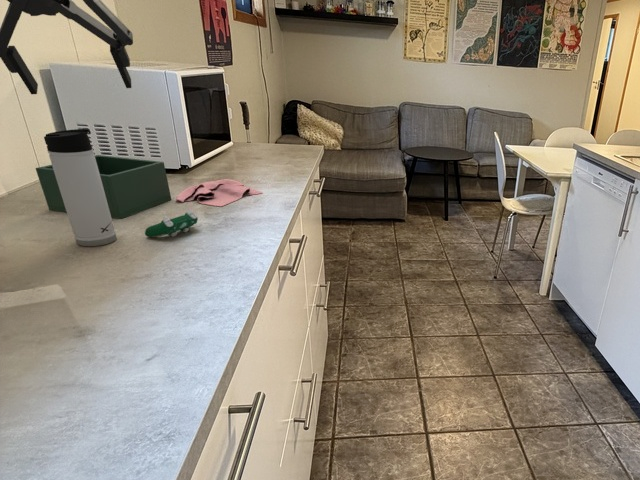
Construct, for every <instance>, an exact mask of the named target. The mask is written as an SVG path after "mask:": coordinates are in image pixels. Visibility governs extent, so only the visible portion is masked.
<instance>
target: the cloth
mask: <svg viewBox="0 0 640 480" xmlns="http://www.w3.org/2000/svg"><path fill="white" fill-rule="evenodd" d="M261 194H264V192H262V191H260V190H257V189H255V188H251V187H248V186H245V185H244V183H242V182H240V181H237V180H234V179H230V178H225V179H217V180H211V181H210V180H209V181H206V182H201V183H198V184H195V185H191V186H187V187H186V188H184V190H182V191H181V192H180V193H179V194H178V195H177V197H176V198H175V202H176V203H177V202H178V203H185V202H191V201H194V200H195V198H196V201H197V202H198V203H199V204H201V205H207V206H214V207H219V208H222V207H226V206H227V205H229V204H232V203H234V202H236V201H238V200H240V199H242V198H243V197H247V196H255V195H261Z"/></svg>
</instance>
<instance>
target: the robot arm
mask: <svg viewBox="0 0 640 480" xmlns="http://www.w3.org/2000/svg"><path fill="white" fill-rule="evenodd" d="M6 1H7V2H8V3H9V4H8V7H7V10H6V13H5V15H4V17H3V20H2V23H1V25H0V60H1V61H2V62H3V64H4V65H5V67H6V69H7V70H8V71H9V72H10V73H11V74H17V75H18V76H19V77H20V79H21V81H22V82H23V83H24V85H25V88H26V89H27V90H28V92H29V93H30V94H31V95H38V87H39V84H38V82H37V80H36V79H35V77H34V76H33V74H32V72H31V71H30V69H29V67H28V65H27V64H26V62H25V60H24V59H23V57H22V56H21V54H20V53H19V50H17V47H16V45H9V44H10V42H11V39H12V37H13V34H14V33H15V32H14V31H15V29H16V27H17V24H18V22H19V21H20V18H21V16H22V13H25V14H27V15H30V17H38V16H43V15H45V16H50V17H51V16H52V17H53V16H54V17H56V16H57V14H60V15H62V16H63V17H65V18H66V19H68V20H71V21H74V22H75V23H76V24H78V25H79V26H81V28H83V29H85V30H86V31H88V32H90V33H91V34H93V35H94V36H96V37H97V38H99V39H100V40H101V41H103V42H104V43H106V44H107V45H109V53H110V54H111V57H112V59H113V62H114V63H115V66H116V68H117V70H118V73H119V74H120V77H121V79H122V82H123V84H124V86H125V88H126V89H132V78H131V75H130V74H129V72H128V68H130V67H131V59H130V56H129V54H128V52H127V49H126V46H133V44H134V36H133V35H134V34H133V32H132V31H131V30H130V29H129V27H127V26H126V25H125V24H124V23H123V22H122V21H121V19H119V18H118V16H116V15H115V13H114V12H113V11H112V10H111V9H110V8H109V7H107V5H106V4H105V3H104V2H103V0H82V2H83V3H84V4H85V5H86V6H87V7H88V8H89V9H90V10H91V11H92V12H93V13H94V14H95V16H97V18H99V19H100V20H101V21H102V22H101V21H100V20H98V19H97V18H95V17H94V16H92V15H91V14H90V13H88V12H87V11H85V10H84V9H82V8H81V7H79V5H77V4H76V3H75V1H73V0H6Z"/></svg>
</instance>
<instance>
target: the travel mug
mask: <svg viewBox="0 0 640 480" xmlns="http://www.w3.org/2000/svg"><path fill="white" fill-rule="evenodd" d="M91 134H92V132H91V130H90V128H89V127H84V128H79V129H78V128H77V129H65V130H58V131H53V132H49V133H46V134H45V135H44V136H43V139H44V143H45V145H46V149H47V150H46V151H47V153H48V156H49V157H48V158H49V160H50V163H51V165H52V167H53V170H54V173H55V176H56V179H57V183H58V186H59V189H60V192H61V195H62V199H63V202H64V205H65V208H66V211H67V212H66V215H67V218H68V220H69V224H70V227H71V230H72V233H73V234H72V235H74V240H75V243H76V244H77V245H79V246H82V247H100V246H104V245H108V244H112V243H113V242H115V241H116V240H117V238H118V237H117V234H116V230H115V226H114V222H113V218H111V214H110V211H109V207H108V203H107V200H106V196H105V192H104V189H103V185H102V181H101V177H100V174H99V170H98V166H97V163H96V159H95V153H94V148H93V146H92V144H91V139H90V137H89V135H91Z"/></svg>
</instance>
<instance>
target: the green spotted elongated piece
mask: <svg viewBox="0 0 640 480" xmlns="http://www.w3.org/2000/svg"><path fill="white" fill-rule="evenodd" d="M197 223H198V216H197V215H196V213H194V212H193V211H192V210H190V209H187V210H186V212H185V213H184V214H183V215H180V216H177V217H174V218H169V217H168V216H163V217H162V220H161V221H160V222H158V223H155V224H153V225H150V226H148V227H146V229H145V230H144V235H145V237H148V238H156V237H157V238H158V237H164V236H167V235H168V236H170V237H176V236H177V235H178V233H177V232H178V231H179V232H183V233H187V232H189V231H190V227H192V226H194V225H197Z"/></svg>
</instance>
